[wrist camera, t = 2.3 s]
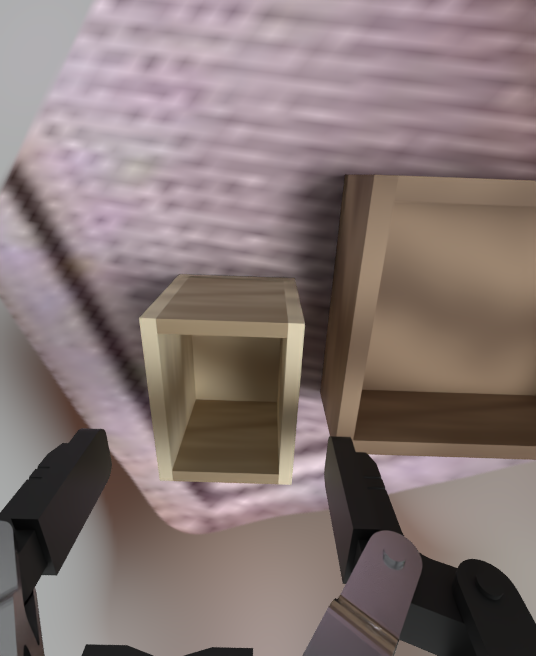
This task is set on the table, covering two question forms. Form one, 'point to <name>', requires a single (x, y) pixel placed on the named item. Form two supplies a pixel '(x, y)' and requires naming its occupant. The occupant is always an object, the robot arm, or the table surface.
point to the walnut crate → (434, 318)
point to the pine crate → (224, 377)
